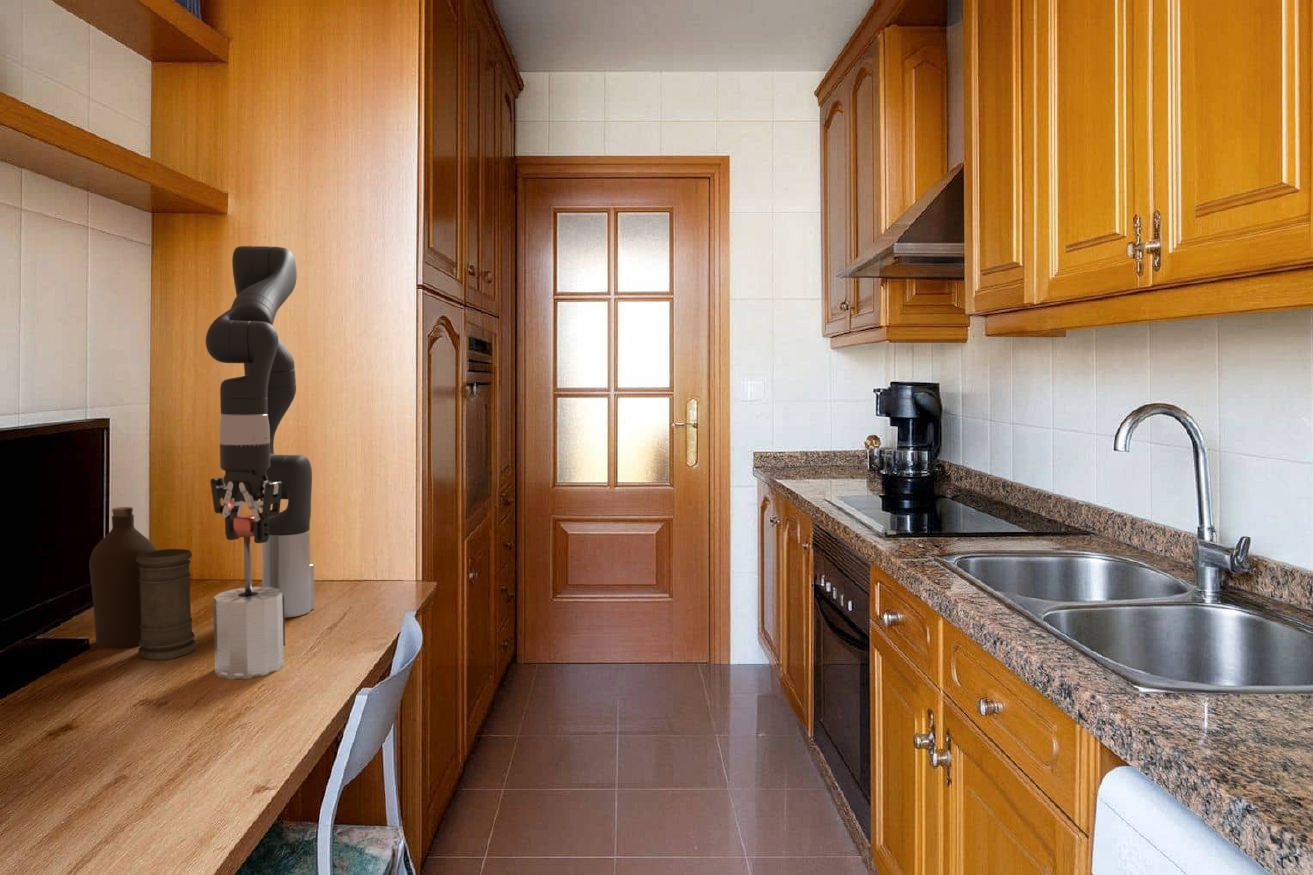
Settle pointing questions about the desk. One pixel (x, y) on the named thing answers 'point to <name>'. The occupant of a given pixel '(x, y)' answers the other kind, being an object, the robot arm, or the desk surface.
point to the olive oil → (118, 582)
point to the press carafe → (248, 632)
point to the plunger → (245, 545)
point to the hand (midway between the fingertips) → (247, 540)
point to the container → (165, 604)
